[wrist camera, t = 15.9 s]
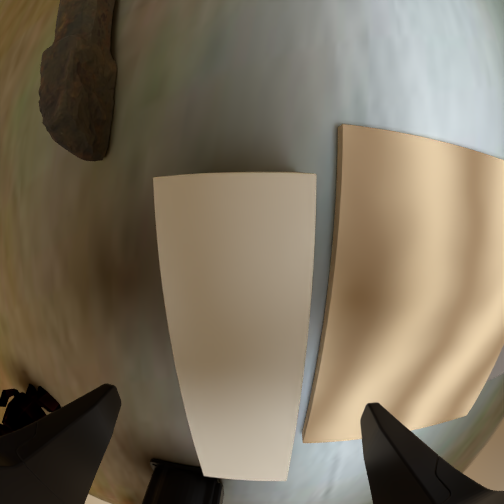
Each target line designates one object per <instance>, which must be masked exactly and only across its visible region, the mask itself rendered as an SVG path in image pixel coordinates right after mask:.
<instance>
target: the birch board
mask: <svg viewBox="0 0 504 504" xmlns="http://www.w3.org/2000/svg"><path fill="white" fill-rule="evenodd" d="M503 345H504V160H502V159H499V158H496V157H493V156H490V155H487V154H484V153H481V152H477V151H474V150H471V149H467V148H464V147H460V146H457V145H453V144H449V143H445V142H441V141H437V140H433V139H429V138H424V137H420V136H415V135H410V134H405V133H400V132H394V131H388V130H382V129H376V128H369V127H362V126H355V125H346V124H342V125H341V126H339V127H338V151H337V182H336V202H335V218H334V231H333V243H332V254H331V264H330V273H329V282H328V290H327V298H326V306H325V313H324V320H323V327H322V334H321V340H320V346H319V352H318V358H317V364H316V369H315V375H314V380H313V385H312V390H311V395H310V400H309V405H308V410H307V414H306V419H305V423H304V427H303V432H302V438H303V443H320V442H335V441H346V440H356V439H362V435H361V425H360V419H361V416H362V414H363V411H364V409H365V406H366V404H367V403H373V402H378V403H380V404H381V405H382V406H383V407H384V408H385V409H386V410H387V411H389V412H390V413H391V414H392V415H393V416H394V417H395V418H396V419H398V420H399V421H400V422H401V423H402V424H403V425H404V426H405V427H407V428H408V429H409V430H410V431H411V430H415V429H420V428H424V427H428V426H432V425H436V424H439V423H443V422H446V421H450V420H453V419H457V418H460V417H463V416H466V415H467V414H468V412H469V411H470V409H471V407H472V406H473V404H474V402H475V401H476V399H477V397H478V396H479V394H480V392H481V390H482V388H483V387H484V385H485V383H486V381H487V379H488V377H489V375H490V373H491V371H492V369H493V367H494V365H495V363H496V361H497V358H498V356H499V354H500V352H501V349H502V347H503Z"/></svg>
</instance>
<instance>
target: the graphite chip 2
mask: <svg viewBox="0 0 504 504" xmlns="http://www.w3.org/2000/svg"><path fill="white" fill-rule="evenodd" d="M503 373H504V345H503V347H502V349H501V352H500V354H499V356H498V358H497V361H496V363H495V365H494V367H493V369H492V371H491V373H490V375H489V377H488V379H487V381H489V380H491V379H493V378H495V377H497V376H499V375H501V374H503ZM487 381H486V382H487Z"/></svg>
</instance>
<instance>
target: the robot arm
mask: <svg viewBox="0 0 504 504" xmlns="http://www.w3.org/2000/svg"><path fill="white" fill-rule="evenodd" d="M120 407H121V399H120V396H119V394H118V391H117V388H116V387H115V386H114V385H111V384H103V385H101V386H100V387H98V388H96V389H94V390H93V391H91V392H89V393H87V394H85V395H84V396H82V397H80V398H78V399H76V400H75V401H73V402H71V403H69V404H67V405H65V406H64V407H62V408H60V409H58V410H56V411H54V412H52V413H51V414H49V415H47V416H45V417H43V418H41V419H39V420H38V421H35V422H33V423H31V424H29V425H27V426H25V427H23V428H21V429H19V430H16V431H14V432H11V433H9V434H6V435H3V436H0V504H84V503H85V500H86V498H87V495H88V493H89V490H90V488H91V485H92V483H93V480H94V478H95V475H96V473H97V470H98V468H99V465H100V463H101V460H102V458H103V456H104V453H105V451H106V449H107V446H108V444H109V442H110V439H111V437H112V433H113V430H114V427H115V424H116V420H117V417H118V414H119V410H120ZM360 425H361V435H362V445H363V455H364V461H365V466H366V471H367V475H368V480H369V485H370V490H371V495H372V500H373V504H504V491H493V490H490V489H487V488H485V487H483V486H482V485H480V484H478V483H476V482H475V481H474V480H472V479H470V478H469V477H467V476H466V475H464V474H462V473H461V472H460V471H458V470H457V469H455V468H454V467H453V466H451V465H450V464H449V463H447V462H446V461H445V460H444V459H443V458H441V457H440V456H438V454H437V453H435V452H434V451H433V450H432V449H431V448H430V447H428V446H427V445H426V444H425V443H424V442H423V441H421V440H420V439H419V438H418V437H417V436H416V435H415V434H413V433H412V432H411V431H410V430H409V429H408V428H407V427H405V426H404V425H403V424H402V423H401V422H400V421H399V420H398V419H396V418H395V417H394V416H393V415H392V414H391V413H390V412H389V411H387V410H386V409H385V408H384V407H383V406H382V405H381V404H380V403H378V402H373V403H367V404H366V406H365V409H364V411H363V414H362V416H361V419H360ZM150 465H151V467H152V469H153V474H152V477H151V480H150V482H149V485H148V488H147V491H146V494H145V496H144V499H143V502H142V504H222V503H223V496H224V490H223V485H222V484H221V483H219V480H218V478H216V477H208V476H204V475H203V472H202V468H195V467H189V466H184V465H178V464H173V463H168V462H164V461H159V460H155V459H151V461H150Z"/></svg>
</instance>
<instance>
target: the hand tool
mask: <svg viewBox="0 0 504 504" xmlns="http://www.w3.org/2000/svg"><path fill="white" fill-rule="evenodd" d="M114 5H115V0H60V4H59V10H58V16H57V22H56V30H55V40H54V42H53V45H52V46H50V47H49V48H47V49H46V50H45V51H44V52H43V54H42V62H41V68H40V73H41V86H40V89H39V96H40V100H39V107H40V112H41V114H42V117H43V124H44V125H45V127H46V129H47V131H48V132H49V133H50V135H51V137H52V139H53V140H54V141H55V142H57V143H58V144H59V145H61V146H62V147H63V148H65V149H66V150H68V151H69V152H71V153H72V154H74V155H75V156H77V157H79V158H80V159H83V160H86V161H98V160H102V159H103V158H104V156H105V154H106V150H107V148H108V143H109V135H110V127H111V121H112V115H113V105H114V100H113V94H114V88H115V80H116V73H117V65H116V62H115V61H114V60H113V58H112V56H111V52H110V46H111V41H110V35H111V26H112V14H113V9H114Z"/></svg>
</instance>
